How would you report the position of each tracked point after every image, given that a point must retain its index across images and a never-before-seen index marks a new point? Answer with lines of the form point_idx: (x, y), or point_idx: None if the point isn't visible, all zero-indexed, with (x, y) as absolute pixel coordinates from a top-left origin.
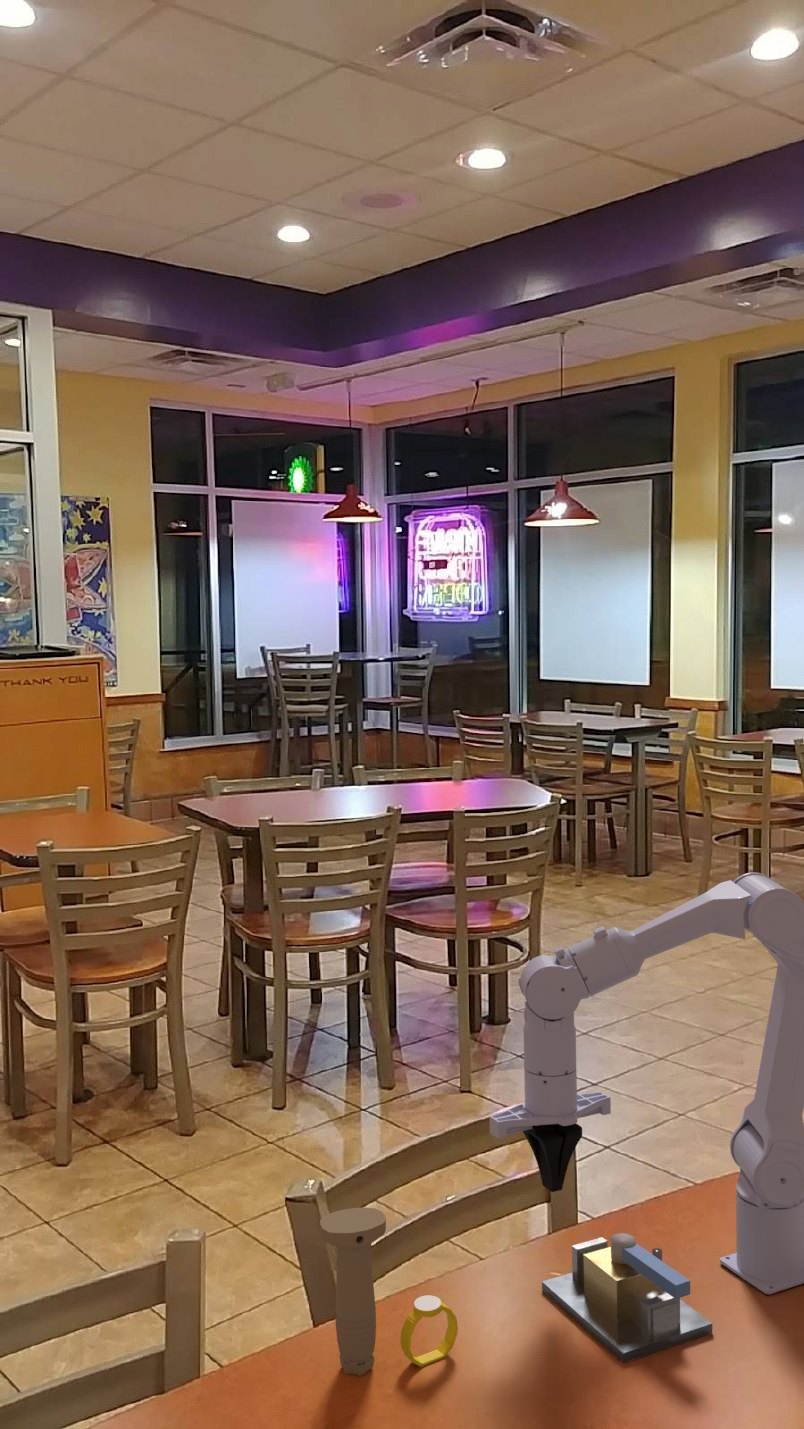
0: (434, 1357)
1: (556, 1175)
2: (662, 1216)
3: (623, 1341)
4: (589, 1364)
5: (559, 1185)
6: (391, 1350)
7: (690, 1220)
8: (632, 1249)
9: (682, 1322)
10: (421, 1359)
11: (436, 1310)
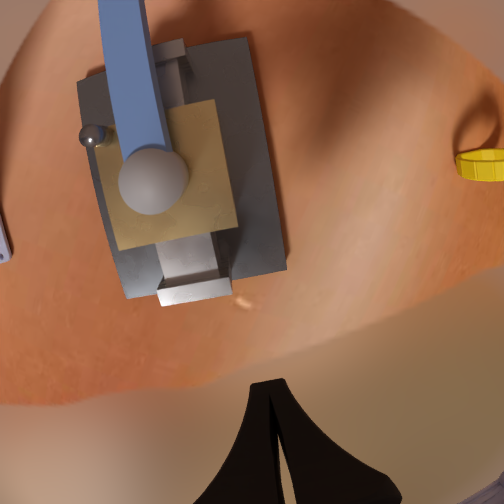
0: (469, 155)
1: (281, 407)
2: (58, 378)
3: (231, 63)
4: (296, 56)
5: (263, 389)
6: (491, 194)
7: (29, 358)
8: (146, 133)
9: None
10: (479, 158)
11: None
